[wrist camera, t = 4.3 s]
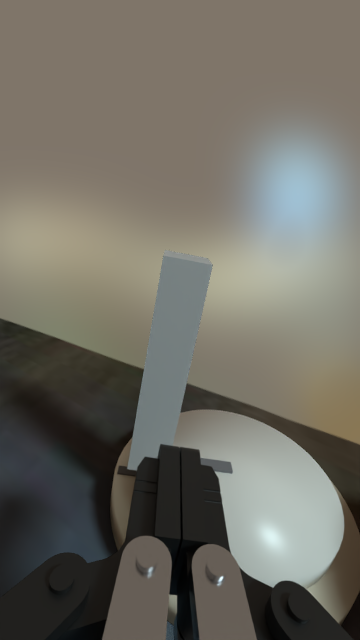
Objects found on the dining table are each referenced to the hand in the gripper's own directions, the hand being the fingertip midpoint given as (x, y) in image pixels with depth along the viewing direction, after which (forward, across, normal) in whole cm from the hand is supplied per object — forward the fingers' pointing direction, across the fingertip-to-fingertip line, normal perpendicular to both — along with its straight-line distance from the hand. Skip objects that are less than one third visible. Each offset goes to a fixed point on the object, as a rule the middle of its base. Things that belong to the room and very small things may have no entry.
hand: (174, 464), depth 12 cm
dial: (+7, -5, +7) cm, 11 cm away
